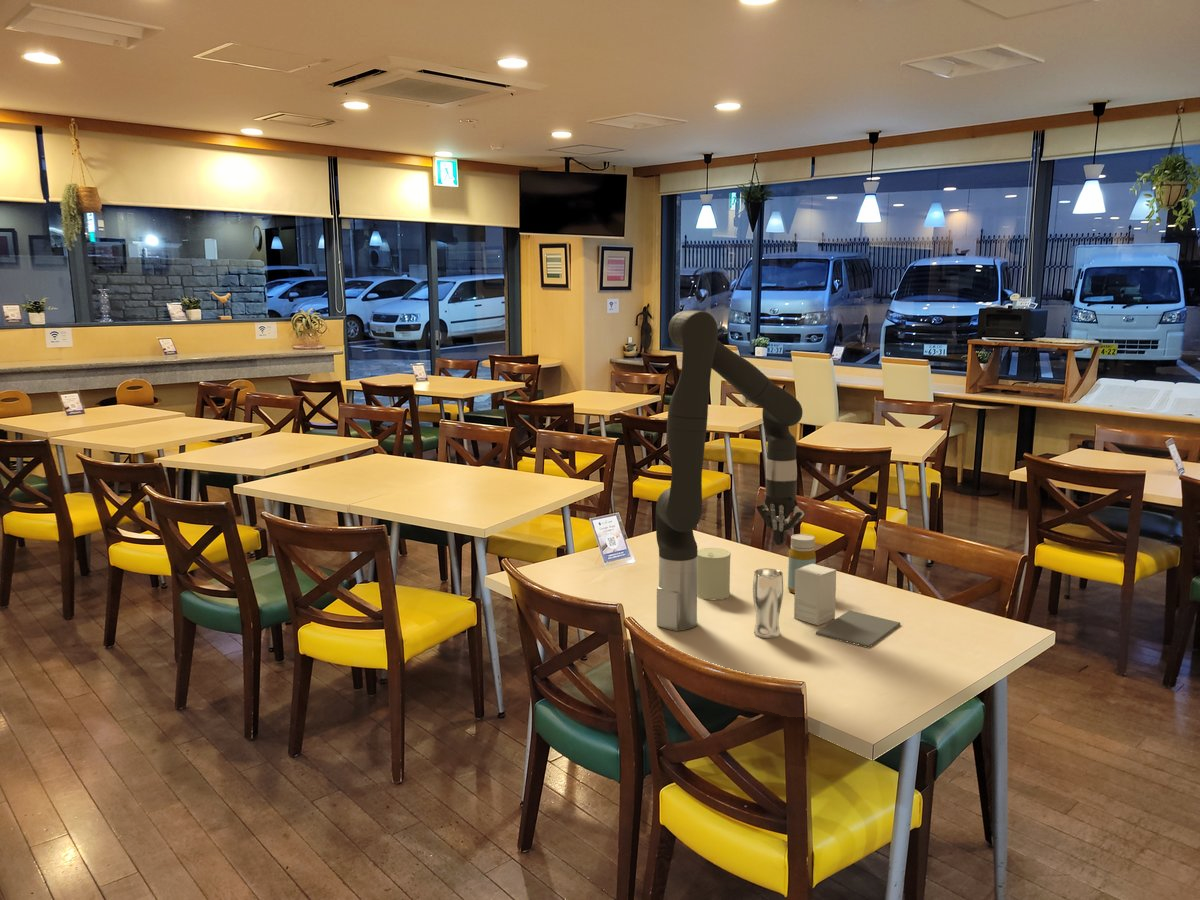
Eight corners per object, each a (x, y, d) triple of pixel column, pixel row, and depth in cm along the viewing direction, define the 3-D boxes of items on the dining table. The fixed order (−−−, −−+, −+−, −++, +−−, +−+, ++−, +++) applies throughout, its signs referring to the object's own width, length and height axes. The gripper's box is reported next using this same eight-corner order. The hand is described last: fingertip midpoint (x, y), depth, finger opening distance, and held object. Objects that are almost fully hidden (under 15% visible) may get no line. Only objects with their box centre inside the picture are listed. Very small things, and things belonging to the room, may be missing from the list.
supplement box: (835, 618, 215) (837, 569, 213) (817, 626, 211) (819, 576, 208) (811, 610, 221) (812, 562, 219) (792, 618, 216) (794, 568, 214)
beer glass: (764, 641, 202) (765, 579, 199) (745, 631, 208) (747, 570, 205) (788, 636, 205) (789, 574, 202) (769, 626, 211) (770, 566, 208)
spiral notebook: (868, 648, 197) (868, 645, 197) (815, 634, 206) (815, 631, 206) (900, 624, 211) (900, 622, 211) (849, 612, 219) (849, 610, 219)
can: (691, 597, 231) (691, 554, 229) (700, 586, 239) (701, 544, 237) (725, 602, 228) (726, 557, 226) (733, 590, 236) (734, 548, 234)
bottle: (814, 596, 231) (816, 541, 229) (787, 594, 233) (789, 540, 230) (814, 587, 238) (815, 534, 235) (787, 586, 239) (789, 532, 237)
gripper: (749, 476, 217) (749, 543, 221) (798, 482, 209) (796, 552, 212) (765, 470, 223) (764, 536, 226) (812, 477, 215) (811, 545, 218)
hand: (780, 544), depth 219 cm, fingers closed
